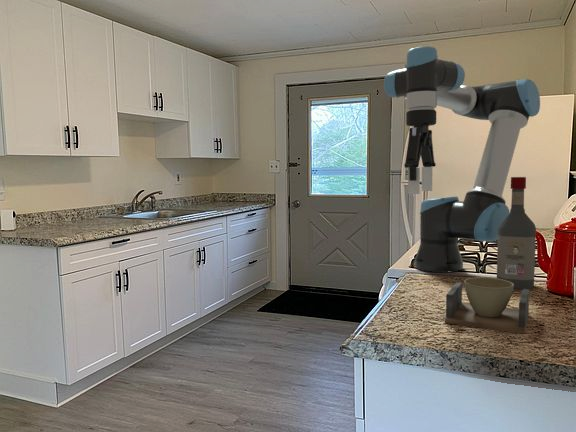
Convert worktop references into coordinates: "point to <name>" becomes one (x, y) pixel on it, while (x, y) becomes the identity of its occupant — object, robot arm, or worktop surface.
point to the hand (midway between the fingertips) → (420, 192)
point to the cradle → (466, 316)
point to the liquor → (517, 242)
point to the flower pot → (488, 295)
